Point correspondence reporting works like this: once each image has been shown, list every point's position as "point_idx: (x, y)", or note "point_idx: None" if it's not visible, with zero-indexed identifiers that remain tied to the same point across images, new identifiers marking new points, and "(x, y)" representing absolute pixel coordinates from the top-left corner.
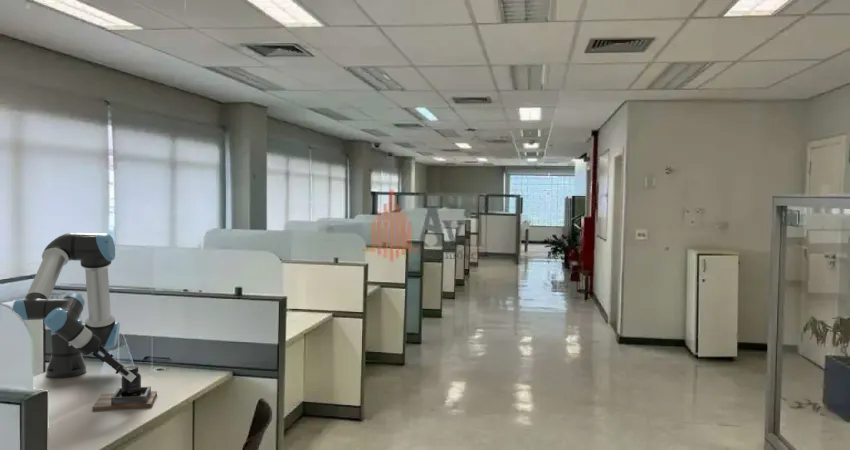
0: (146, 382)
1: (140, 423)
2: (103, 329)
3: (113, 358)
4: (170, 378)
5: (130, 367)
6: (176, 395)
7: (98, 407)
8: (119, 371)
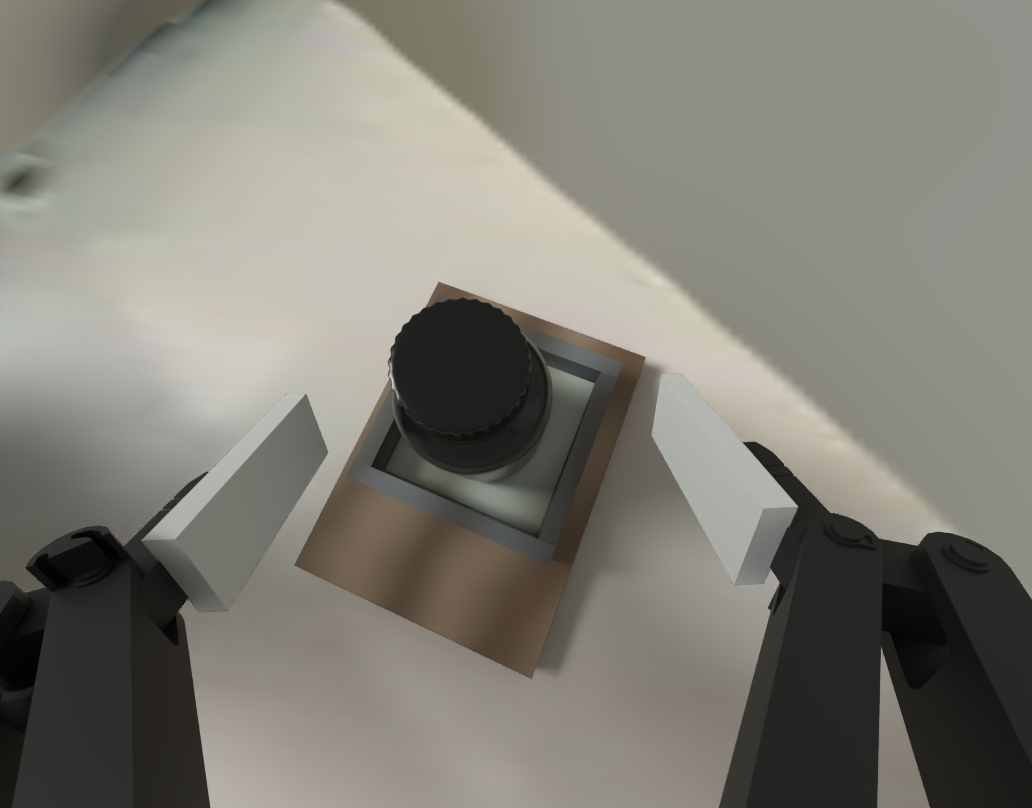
0: (196, 288)
1: (873, 468)
2: None
3: (186, 538)
4: (214, 178)
5: (454, 370)
6: (507, 219)
7: (544, 638)
8: (762, 562)
